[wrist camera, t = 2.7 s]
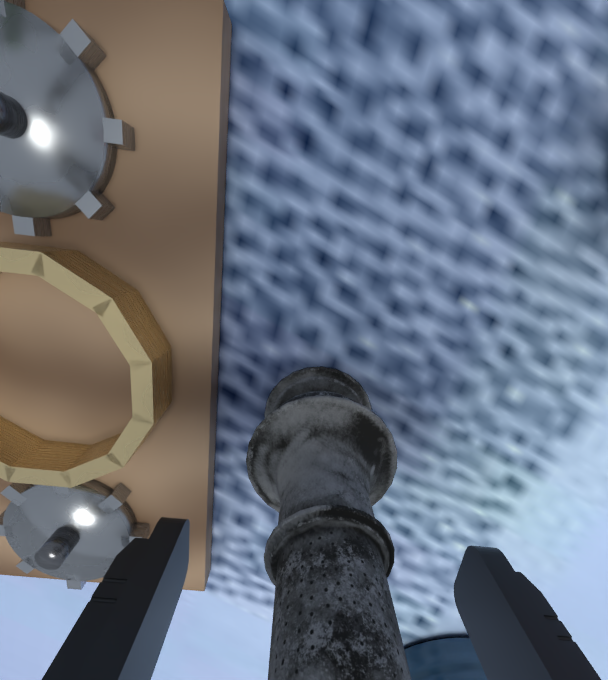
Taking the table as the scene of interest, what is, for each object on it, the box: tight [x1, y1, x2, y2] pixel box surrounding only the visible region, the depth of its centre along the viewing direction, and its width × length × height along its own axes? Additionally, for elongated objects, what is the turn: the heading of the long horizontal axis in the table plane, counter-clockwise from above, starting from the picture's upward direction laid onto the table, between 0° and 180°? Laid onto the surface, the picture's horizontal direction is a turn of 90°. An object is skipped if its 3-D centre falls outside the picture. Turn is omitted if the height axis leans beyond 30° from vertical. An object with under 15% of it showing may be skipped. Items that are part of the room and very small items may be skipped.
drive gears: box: [0, 0, 150, 589], centre depth 13 cm, size 25×7×2 cm, turn 173°
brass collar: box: [0, 242, 172, 488], centre depth 13 cm, size 10×10×2 cm
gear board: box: [0, 0, 232, 591], centre depth 14 cm, size 26×13×1 cm, turn 173°
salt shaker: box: [246, 367, 411, 680], centre depth 10 cm, size 6×6×12 cm
